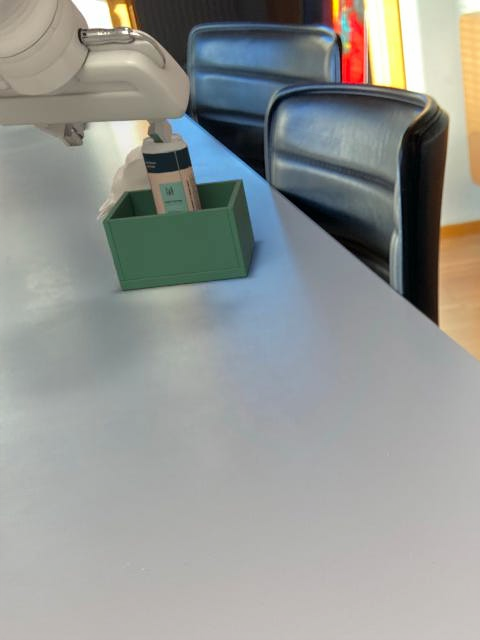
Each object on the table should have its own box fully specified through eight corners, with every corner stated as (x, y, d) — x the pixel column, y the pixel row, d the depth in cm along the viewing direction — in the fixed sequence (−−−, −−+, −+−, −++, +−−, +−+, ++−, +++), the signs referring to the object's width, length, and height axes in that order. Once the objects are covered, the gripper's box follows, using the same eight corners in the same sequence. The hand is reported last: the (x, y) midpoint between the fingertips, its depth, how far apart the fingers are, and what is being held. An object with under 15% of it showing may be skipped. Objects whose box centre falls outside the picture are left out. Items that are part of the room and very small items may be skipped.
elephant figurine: (105, 227, 130) (84, 152, 125) (200, 214, 132) (183, 139, 126) (100, 246, 122) (78, 167, 117) (201, 232, 124) (183, 153, 119)
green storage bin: (121, 290, 107) (102, 221, 103) (141, 255, 118) (124, 191, 114) (247, 276, 108) (232, 207, 104) (255, 243, 118) (242, 178, 114)
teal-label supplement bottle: (200, 247, 115) (172, 130, 108) (219, 254, 112) (193, 135, 105) (161, 257, 113) (130, 139, 105) (180, 265, 110) (150, 144, 102)
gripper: (149, -7, 83) (223, 104, 97) (-67, 8, 87) (33, 112, 101) (139, 63, 82) (215, 165, 96) (-79, 75, 87) (23, 171, 100)
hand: (120, 138), depth 98 cm, fingers open, 8 cm apart
